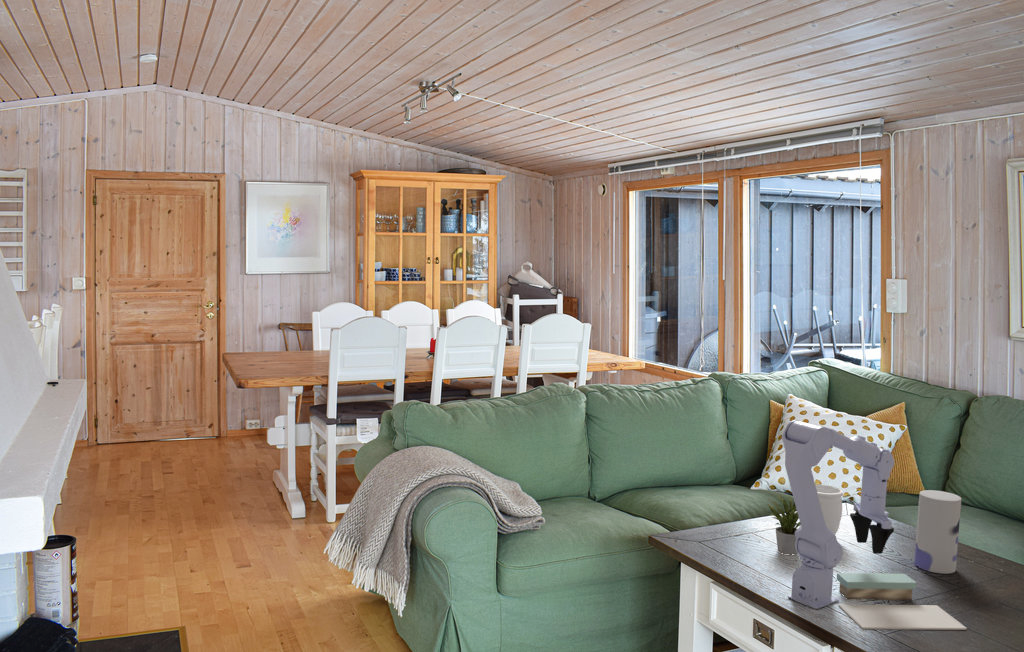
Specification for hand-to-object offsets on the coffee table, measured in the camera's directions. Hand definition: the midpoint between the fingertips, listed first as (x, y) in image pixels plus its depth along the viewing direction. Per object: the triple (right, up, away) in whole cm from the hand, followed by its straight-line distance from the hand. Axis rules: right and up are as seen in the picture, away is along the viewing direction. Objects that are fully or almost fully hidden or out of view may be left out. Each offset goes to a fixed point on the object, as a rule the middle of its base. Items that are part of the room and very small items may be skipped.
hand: (869, 547), depth 207 cm
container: (+25, -10, +16) cm, 31 cm away
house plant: (-11, -8, +25) cm, 28 cm away
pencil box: (0, -11, -4) cm, 12 cm away
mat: (0, -12, -16) cm, 20 cm away
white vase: (+1, -7, +36) cm, 37 cm away
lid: (0, -8, -5) cm, 9 cm away
